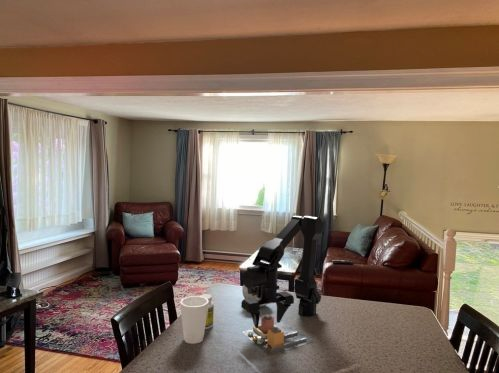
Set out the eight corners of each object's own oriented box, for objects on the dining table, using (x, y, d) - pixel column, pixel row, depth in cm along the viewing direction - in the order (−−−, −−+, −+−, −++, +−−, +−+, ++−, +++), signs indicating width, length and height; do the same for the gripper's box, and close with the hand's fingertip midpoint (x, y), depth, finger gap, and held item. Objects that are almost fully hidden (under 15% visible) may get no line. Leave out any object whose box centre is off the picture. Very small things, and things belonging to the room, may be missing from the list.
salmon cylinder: (276, 333, 123) (276, 317, 122) (265, 335, 120) (265, 320, 120) (268, 327, 126) (269, 312, 126) (258, 330, 124) (258, 315, 124)
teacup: (241, 299, 154) (242, 281, 153) (270, 300, 154) (271, 282, 153) (241, 314, 139) (241, 294, 138) (272, 315, 139) (273, 295, 138)
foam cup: (212, 335, 121) (213, 298, 120) (200, 348, 112) (200, 309, 112) (188, 330, 124) (188, 294, 123) (174, 342, 116) (174, 304, 115)
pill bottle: (210, 330, 124) (210, 300, 123) (193, 328, 125) (194, 298, 125) (215, 323, 130) (216, 294, 130) (199, 321, 132) (200, 292, 131)
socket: (269, 325, 128) (269, 322, 128) (281, 333, 122) (281, 330, 122) (253, 329, 124) (253, 326, 124) (264, 338, 118) (264, 335, 118)
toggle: (277, 340, 117) (277, 325, 117) (283, 345, 114) (284, 330, 114) (267, 343, 115) (267, 328, 115) (273, 348, 112) (273, 332, 112)
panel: (283, 323, 132) (283, 319, 132) (313, 344, 117) (313, 339, 117) (241, 334, 123) (241, 329, 123) (268, 358, 108) (268, 353, 108)
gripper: (277, 271, 134) (276, 311, 135) (234, 278, 124) (233, 321, 125) (295, 280, 124) (293, 323, 125) (250, 288, 115) (248, 335, 116)
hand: (267, 325), depth 123 cm, fingers open, 9 cm apart
